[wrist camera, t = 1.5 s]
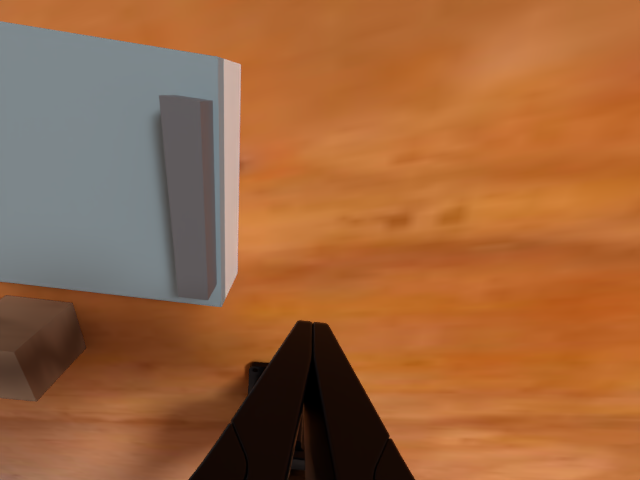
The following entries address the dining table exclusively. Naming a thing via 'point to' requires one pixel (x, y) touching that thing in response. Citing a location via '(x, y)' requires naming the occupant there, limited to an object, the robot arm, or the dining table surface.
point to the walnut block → (36, 345)
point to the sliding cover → (111, 167)
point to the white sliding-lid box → (231, 167)
